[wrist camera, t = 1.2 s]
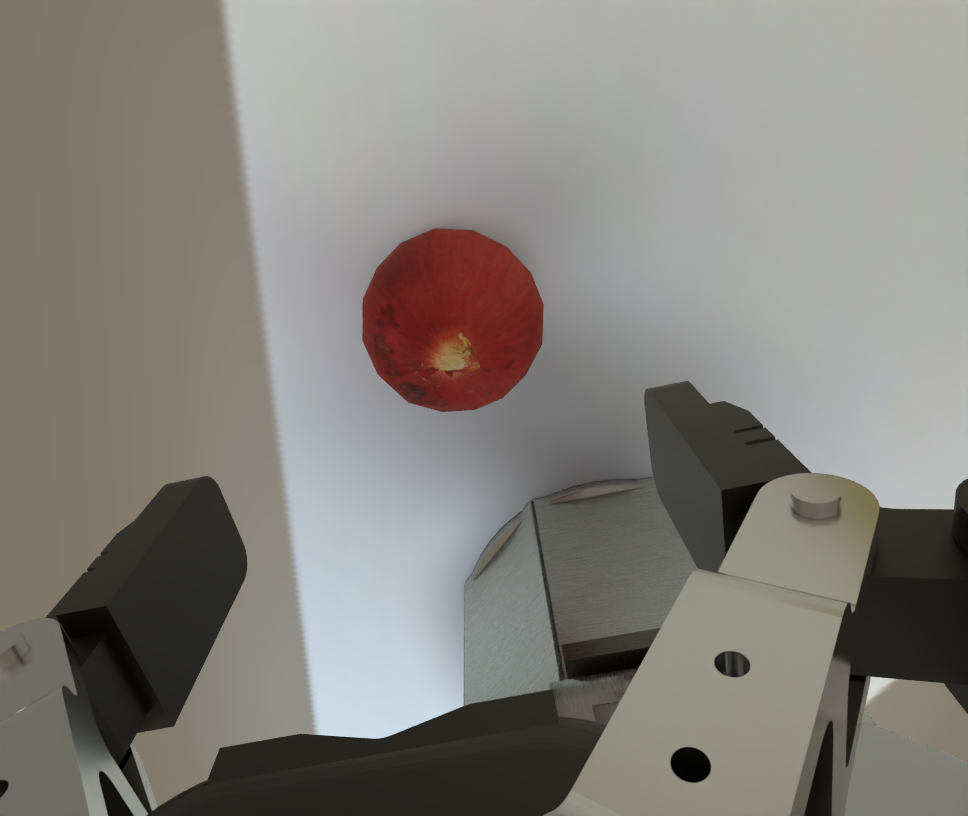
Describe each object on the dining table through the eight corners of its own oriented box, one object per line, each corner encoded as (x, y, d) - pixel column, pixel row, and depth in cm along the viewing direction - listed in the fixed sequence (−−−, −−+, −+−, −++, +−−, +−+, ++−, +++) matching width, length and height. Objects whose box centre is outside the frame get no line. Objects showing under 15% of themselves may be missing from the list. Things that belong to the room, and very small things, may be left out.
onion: (454, 394, 26) (449, 501, 19) (345, 294, 24) (292, 367, 17) (562, 294, 24) (603, 366, 17) (454, 180, 23) (447, 205, 15)
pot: (749, 426, 27) (919, 607, 17) (760, 729, 34) (884, 984, 24) (430, 485, 28) (409, 693, 17) (508, 770, 35) (525, 1033, 25)
